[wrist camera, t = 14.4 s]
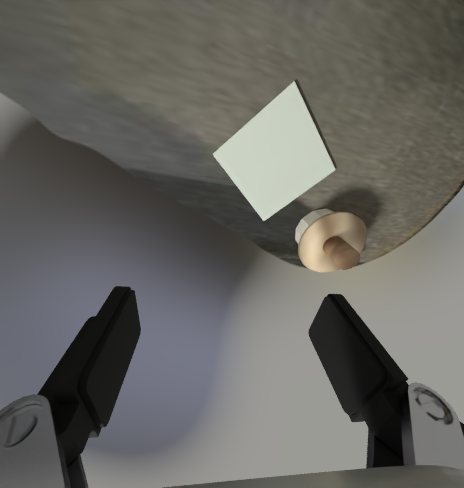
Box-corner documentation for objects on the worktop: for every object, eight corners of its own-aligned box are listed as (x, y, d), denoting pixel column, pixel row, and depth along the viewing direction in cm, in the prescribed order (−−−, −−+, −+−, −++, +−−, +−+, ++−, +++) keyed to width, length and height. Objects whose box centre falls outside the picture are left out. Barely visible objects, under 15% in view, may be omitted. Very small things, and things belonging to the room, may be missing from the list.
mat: (292, 81, 30) (294, 81, 29) (333, 169, 37) (335, 169, 36) (212, 153, 34) (212, 154, 33) (263, 220, 41) (263, 221, 40)
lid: (350, 197, 34) (373, 208, 29) (373, 245, 39) (396, 262, 34) (285, 240, 37) (297, 257, 32) (315, 279, 43) (329, 299, 38)
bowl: (329, 199, 40) (345, 208, 35) (347, 233, 44) (363, 245, 39) (287, 228, 42) (296, 240, 37) (308, 257, 47) (318, 272, 42)
